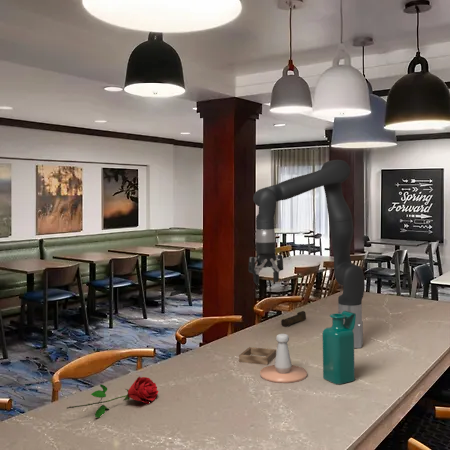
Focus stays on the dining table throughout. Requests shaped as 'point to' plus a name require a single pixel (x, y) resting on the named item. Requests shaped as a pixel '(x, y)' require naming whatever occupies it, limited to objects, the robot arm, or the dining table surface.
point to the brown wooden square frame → (248, 358)
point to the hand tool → (294, 319)
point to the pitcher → (339, 349)
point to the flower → (138, 391)
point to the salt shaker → (282, 355)
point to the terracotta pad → (291, 377)
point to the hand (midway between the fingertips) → (266, 282)
